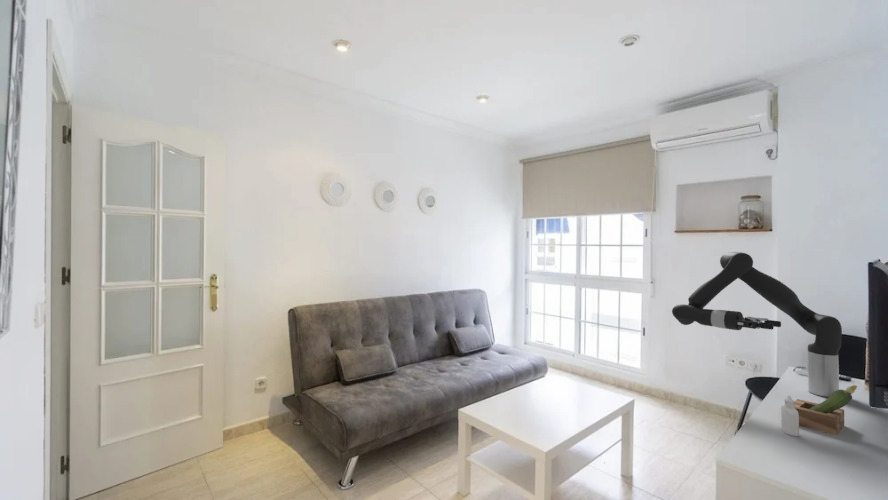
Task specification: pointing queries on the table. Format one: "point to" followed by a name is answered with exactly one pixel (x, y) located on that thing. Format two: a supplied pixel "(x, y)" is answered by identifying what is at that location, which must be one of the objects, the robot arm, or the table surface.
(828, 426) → the socket
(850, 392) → the vegetable
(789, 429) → the eye dropper bottle
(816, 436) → the table surface
